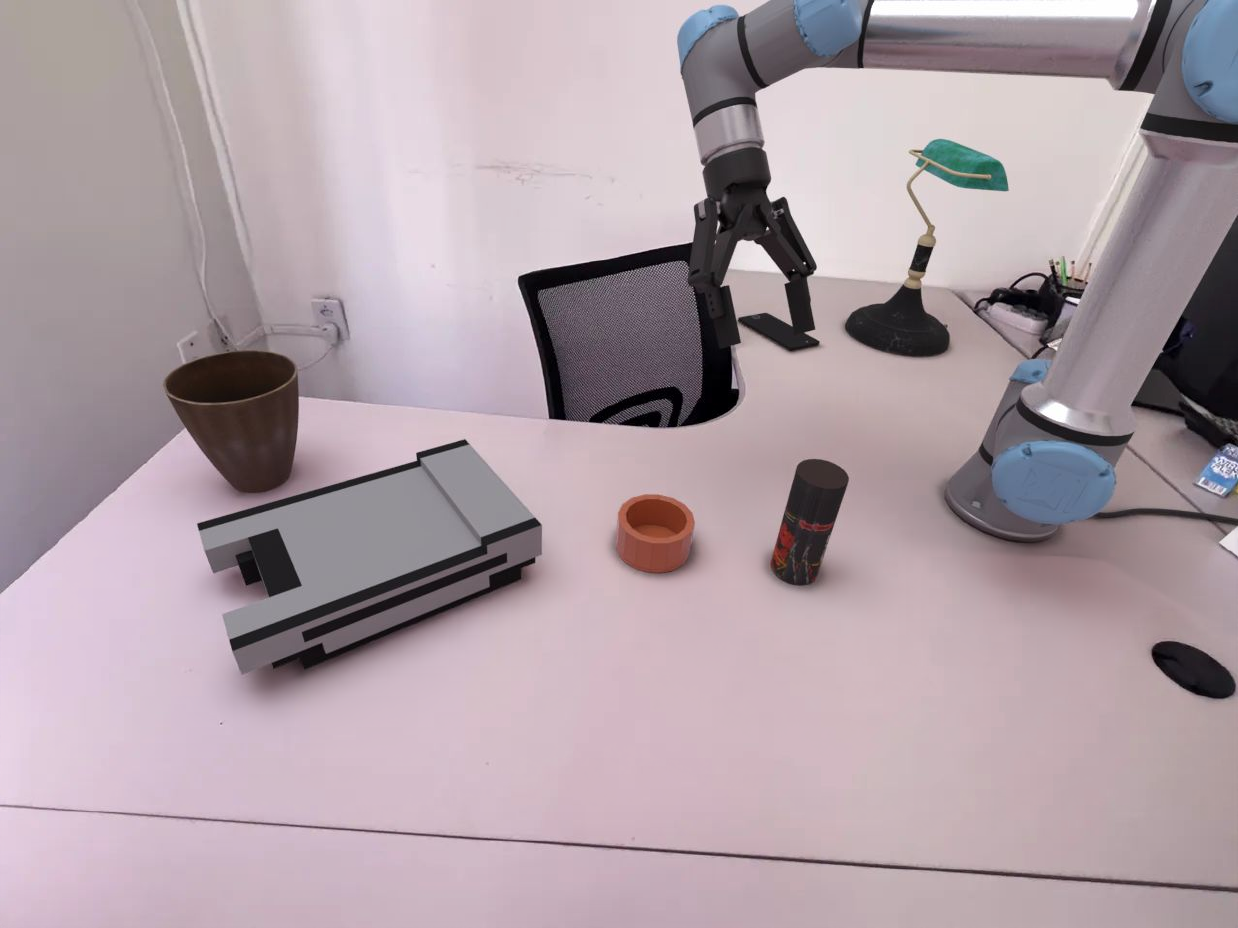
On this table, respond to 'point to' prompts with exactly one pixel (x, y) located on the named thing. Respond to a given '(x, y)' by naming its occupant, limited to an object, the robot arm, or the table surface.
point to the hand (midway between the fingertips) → (769, 339)
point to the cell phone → (778, 331)
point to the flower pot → (240, 414)
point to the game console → (370, 555)
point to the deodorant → (808, 520)
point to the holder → (654, 533)
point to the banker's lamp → (924, 259)
